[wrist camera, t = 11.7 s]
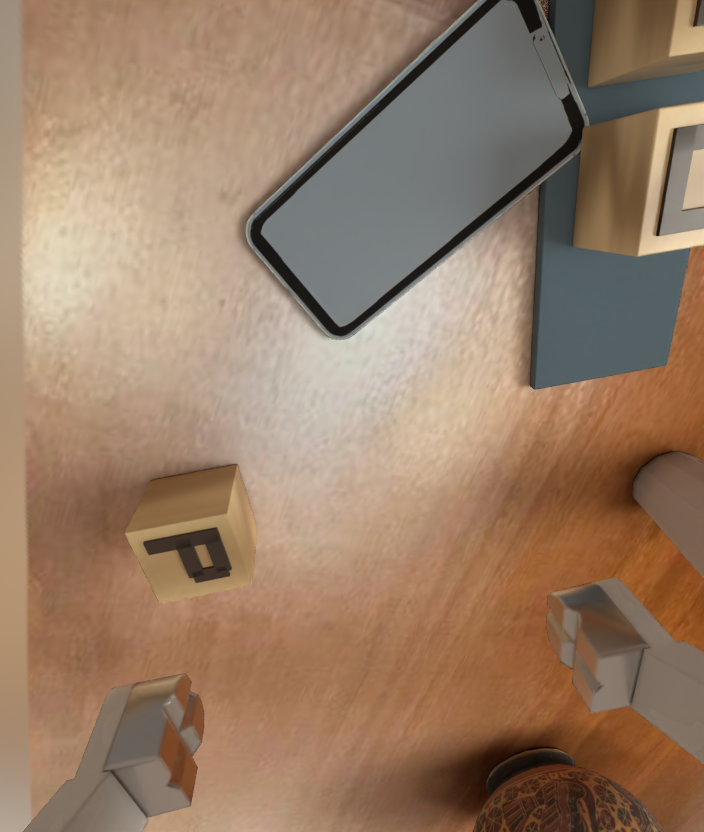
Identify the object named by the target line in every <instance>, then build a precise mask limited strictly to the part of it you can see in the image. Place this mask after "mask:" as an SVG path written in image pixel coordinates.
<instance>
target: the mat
mask: <svg viewBox="0 0 704 832" xmlns="http://www.w3.org/2000/svg"><path fill="white" fill-rule="evenodd" d="M594 9H595V0H550V7H549V26H550V28H551V30H552V33H553V35H554V37H555V40H556V42H557V45H558V47H559V49H560V52H561V54H562V56H563V59H564V61H565V64H566V66H567V68H568V71H569V73H570V75H571V78H572V80H573V83H574V85H575V87H576V90H577V92H578V94H579V97H580V99H581V102H582V104H583V106H584V109H585V111H586V113H587V116H588V119H589V126H591V125H594V124H598V123H602V122H606V121H610V120H614V119H618V118H622V117H626V116H630V115H634V114H638V113H641V112H645V111H649V110H653V109H657V108H662V107H669V106H675V105H681V104H688V103H694V102H701V101H704V70H701V71H698V72H692V73H685V74H678V75H672V76H665V77H658V78H652V79H645V80H638V81H632V82H625V83H618V84H612V85H605V86H598V87H592V88H588V77H589V66H590V55H591V43H592V32H593V20H594ZM580 154H581V150H580V152H579V153H577V154H576V155H575V156H574V157H573V158H572V159H570V160H569V161H568V162H567V163H565V164H564V165H563V166H562V167H561V168H559V169H558V170H557V171H556V172H554V173H553V174H552V175H551V176H549V177H548V178H547V179H546V180H544V181H543V182H542V183H541V184H540V203H539V222H538V242H537V261H536V281H535V300H534V320H533V339H532V359H531V378H530V386H531V387H532V388H533V389H535V390H536V389H542V388H547V387H552V386H558V385H563V384H568V383H574V382H579V381H585V380H590V379H595V378H601V377H606V376H612V375H617V374H622V373H628V372H633V371H638V370H644V369H649V368H655V367H660V366H665V365H667V361H668V357H669V352H670V347H671V342H672V337H673V332H674V327H675V322H676V317H677V312H678V307H679V302H680V298H681V293H682V288H683V283H684V278H685V273H686V268H687V263H688V258H689V253H690V248H686V249H680V250H674V251H669V252H663V253H657V254H651V255H645V256H640V257H634V256H628V255H621V254H615V253H609V252H602V251H596V250H590V249H584V248H577V247H573V236H574V224H575V212H576V201H577V189H578V178H579V166H580Z"/></svg>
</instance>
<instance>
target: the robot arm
mask: <svg viewBox="0 0 704 832" xmlns="http://www.w3.org/2000/svg"><path fill="white" fill-rule="evenodd" d="M547 604H548V606H549V608H550V609H551V612H550V613H549V614H548V616H547V617H546V630H547V634H548V637H549V641H550V643H551V645H552V648H553V650H554V652H555V654H556V655H557V657H558V659H559V661H560V662H561V663H563V664H564V665H566V666H568V667H569V668H571V669H572V670H573V675H572V683H573V684H574V686H575V688H576V689H577V691H578V693H579V694H580V696H581V698H582V699H583V701H584V703H585V704H586V706H587V708H588V709H589V711H590V713H596V712H601V711H606V710H611V709H616V708H621V707H626V706H631V705H632V706H631V708H632V709H633V710H634V711H636V712H637V713H638V714H639V715H641V716H642V717H643V718H645V719H646V720H647V721H649V722H650V723H651V724H652V725H654V726H655V727H656V728H658V729H659V730H660V731H662V732H663V733H664V734H665V735H667V736H668V737H669V738H671V739H672V740H673V741H674V742H676V743H677V744H678V745H680V746H681V747H682V748H684V749H685V750H686V751H687V752H689V753H690V754H691V755H693V756H694V757H695V758H697V759H698V760H699V761H700V762H702V763H703V764H704V651H702V650H700V649H698V648H696V647H694V646H692V645H690V644H689V643H687V642H685V641H679V642H676V641H675V640H674V639H673V638H672V637H671V636H670V635H669V633H668V632H667V631H666V630H665V629H664V628H663V627H662V626H661V624H660V623H659V622H658V621H657V620H656V619H655V618H654V617H653V616H652V614H651V613H650V612H649V611H648V610H647V609H646V608H645V607H644V605H643V604H642V603H641V602H640V601H639V600H638V599H637V598H636V596H635V595H634V594H633V593H632V592H631V591H630V590H629V589H628V588H627V586H626V585H625V584H624V583H623V582H622V581H621V580H619V579H617V578H610V579H606V580H602V581H598V582H594V583H591V582H590V583H586V584H582V585H577V586H573V587H569V588H565V589H561V590H556V591H552V592H550V593H549V594H548V597H547ZM190 687H191V680H190V679H189V677H188V675H187V674H186V673H183V674H178V675H173V676H168V677H163V678H158V679H153V680H148V681H143V682H137V683H132V684H127V685H123V686H118V687H114V688H112V689H111V691H110V692H109V693H108V695H107V696H106V698H105V700H104V703H103V705H102V708H101V710H100V713H99V716H98V718H97V721H96V723H95V726H94V729H93V731H92V734H91V736H90V739H89V741H88V744H87V747H86V749H85V752H84V754H83V757H82V760H81V762H80V765H79V767H78V770H77V772H76V775H75V778H74V779H71V780H67V781H66V782H65V783H64V784H63V785H62V786H61V788H60V789H59V790H58V791H57V792H56V793H55V795H54V796H53V797H52V798H51V799H50V800H49V802H48V803H47V804H46V805H45V806H44V807H43V809H42V810H41V811H40V812H39V813H38V814H37V816H36V817H35V818H34V819H33V820H32V821H31V823H30V824H29V825H28V826H27V827H26V829H25V830H24V831H23V832H142V831H143V829H144V828H145V826H146V824H147V822H148V817H152V816H156V815H160V814H163V813H167V812H171V811H175V810H179V809H182V808H186V807H190V806H191V802H192V796H193V791H194V785H195V779H196V774H197V768H198V767H197V765H196V763H195V761H194V759H193V757H192V756H193V755H194V753H195V752H196V750H197V749H198V748H199V746H200V745H201V743H202V738H203V732H204V709H203V705H202V701H201V699H200V697H199V695H198V694H196V693H194V692H192V691H190Z"/></svg>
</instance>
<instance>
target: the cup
mask: <svg viewBox="0 0 704 832" xmlns="http://www.w3.org/2000/svg"><path fill="white" fill-rule="evenodd" d="M632 496H633V497H634V498H635V500H636V501H637V502H638V503H639V504H640V505H641V507H642V508H643V509H644V510H645V511H646V512H647V514H648V515H649V516H650V517H651V518H652V519H653V520H654V522H655V523H656V524H657V525H658V526H659V527H660V529H661V530H662V531H663V532H664V533H665V534H666V535H667V537H668V538H669V539H670V540H671V541H672V542H673V544H674V545H675V546H676V547H677V548H678V549H679V551H680V552H681V553H682V554H683V555H684V556H685V557H686V559H687V560H688V561H689V562H690V563H691V564H692V566H693V567H694V568H695V569H696V570H697V571H698V573H699V574H700V575H701V576H702V577H703V578H704V461H703V460H701V459H699V458H696V457H694V456H692V455H690V454H686V453H681V452H677V451H673V452H670V453H666V454H663V455H660V456H657V457H656V458H654V459H653V460H652V461H650V462H649V463H648V464H646V465H645V466H644V467H642V468H641V470H640V472H639V473H638V475H637V476H636V478H635V480H634V481H633V488H632Z"/></svg>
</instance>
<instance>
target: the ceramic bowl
mask: <svg viewBox="0 0 704 832" xmlns="http://www.w3.org/2000/svg"><path fill="white" fill-rule="evenodd" d="M486 789H487V792H488V794H489V796H490V797H489V799H488V800H487V801H486V803H485V804H484V806H483V808H482V810H481V812H480V813H479V815H478V817H477V820H476V823H475V827H474V830H473V832H664V831H663V829H662V827H661V826H660V824H659V823H658V821H657V820H656V818H655V817H654V816H653V815H652V814H651V813H650V811H649V810H648V809H647V808H646V807H645V806H644V805H643V804H642V803H641V802H640V801H639V800H638V799H637V798H636V797H635V796H633V795H632V794H631V793H630V792H629V791H627V790H626V789H624V788H623V787H621V786H620V785H619V784H617V783H615V782H613V781H612V780H610V779H608V778H606V777H605V776H603V775H601V774H598V773H596V772H593V771H589V770H586V769H583V768H580V767H575V761H574V759H573V758H572V757H571V756H570V755H568V754H567V753H565V752H563V751H560V750H558V749H549V748H544V749H535V750H530V751H524V752H522V753H520V754H517V755H514V756H512V757H510V758H508V759H507V760H505V761H504V762H502V763H500V764H499V765H497V766H496V767H495V768H494V769H493V770H492V772H491V773H490V775H489V777H488V779H487V783H486Z"/></svg>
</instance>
